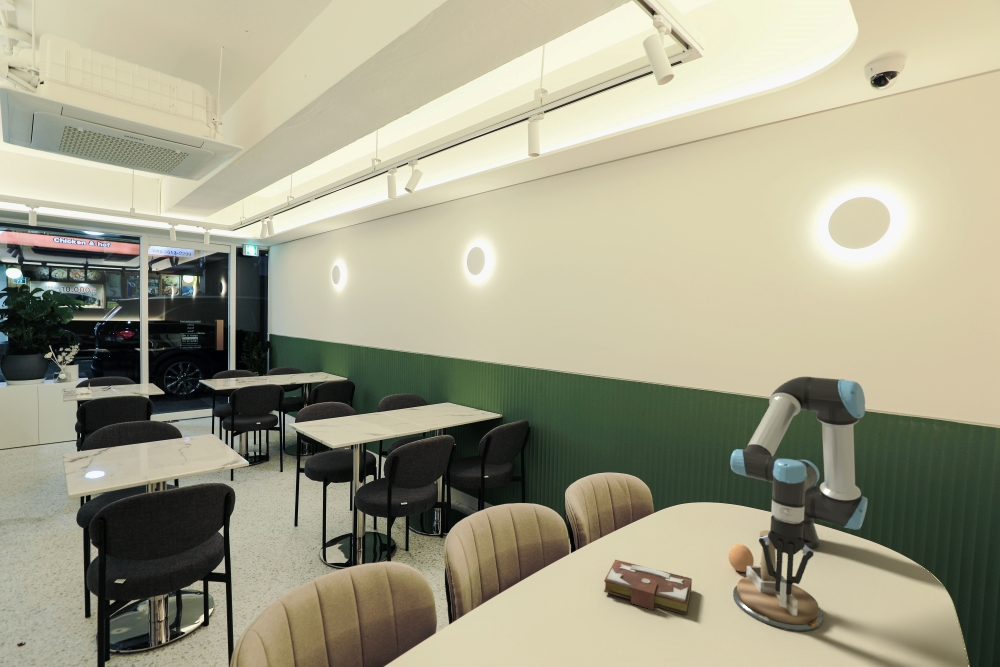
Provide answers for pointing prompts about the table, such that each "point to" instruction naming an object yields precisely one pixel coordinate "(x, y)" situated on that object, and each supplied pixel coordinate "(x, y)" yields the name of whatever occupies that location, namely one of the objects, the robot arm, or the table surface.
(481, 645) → the table surface
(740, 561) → the egg
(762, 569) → the handle
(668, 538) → the table surface
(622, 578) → the book
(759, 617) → the base
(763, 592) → the dial
